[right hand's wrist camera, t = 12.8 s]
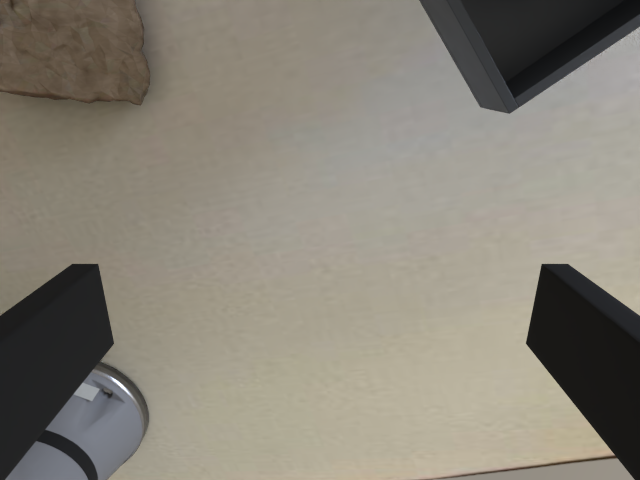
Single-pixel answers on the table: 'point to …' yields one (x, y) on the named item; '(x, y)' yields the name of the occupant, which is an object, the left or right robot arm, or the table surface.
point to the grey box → (526, 41)
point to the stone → (73, 50)
